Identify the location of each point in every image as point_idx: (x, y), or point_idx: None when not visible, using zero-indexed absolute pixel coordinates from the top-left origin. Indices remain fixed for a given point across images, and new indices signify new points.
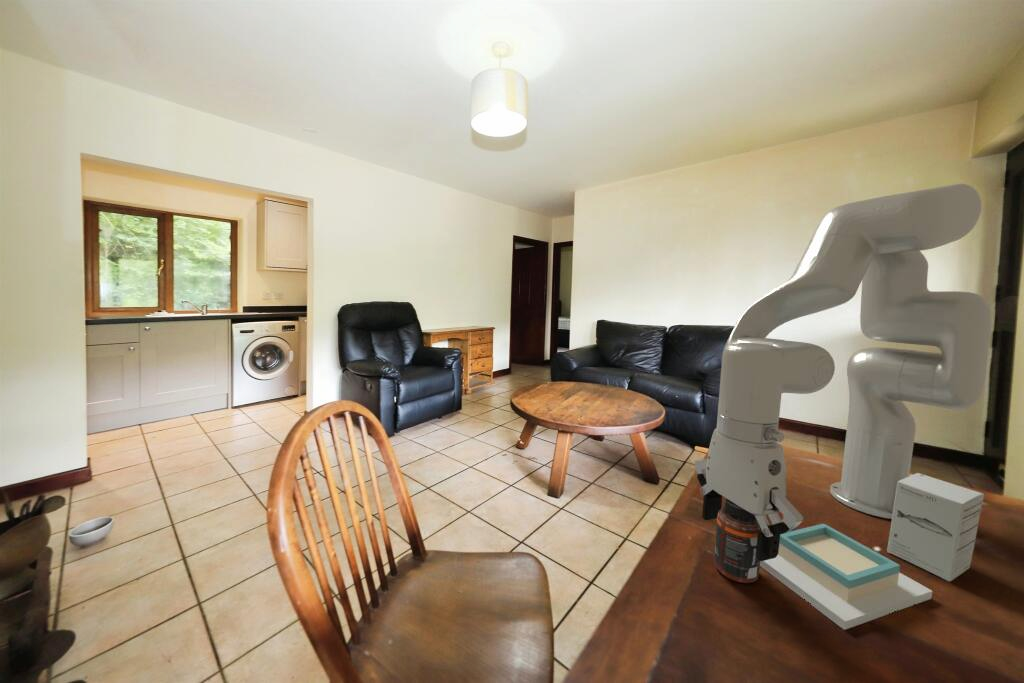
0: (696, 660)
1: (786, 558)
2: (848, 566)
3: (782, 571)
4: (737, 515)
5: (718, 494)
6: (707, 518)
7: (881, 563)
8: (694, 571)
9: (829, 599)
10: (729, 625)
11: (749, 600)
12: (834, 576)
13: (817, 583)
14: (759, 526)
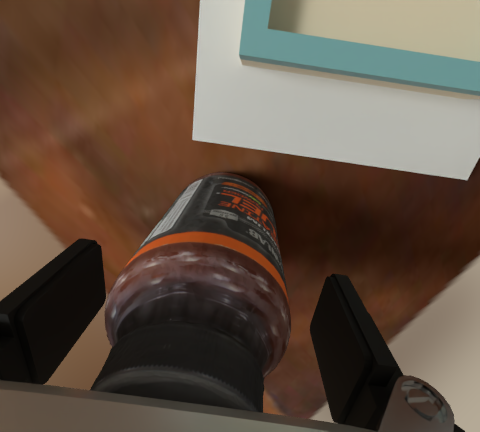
0: (314, 395)
1: (280, 70)
2: None
3: (300, 140)
4: None
5: (3, 329)
6: (102, 300)
7: None
8: None
9: (424, 136)
10: (306, 332)
11: (293, 265)
12: (466, 92)
13: (383, 95)
14: (285, 330)
